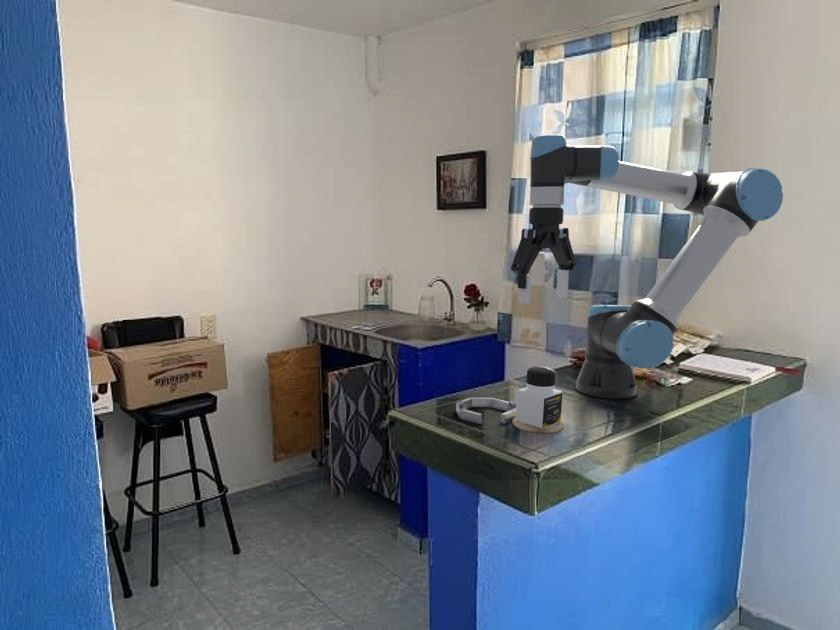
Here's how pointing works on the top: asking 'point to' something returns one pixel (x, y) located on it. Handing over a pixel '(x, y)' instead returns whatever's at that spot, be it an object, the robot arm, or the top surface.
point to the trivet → (533, 429)
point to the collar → (485, 402)
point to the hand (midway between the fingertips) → (543, 300)
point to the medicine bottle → (539, 399)
